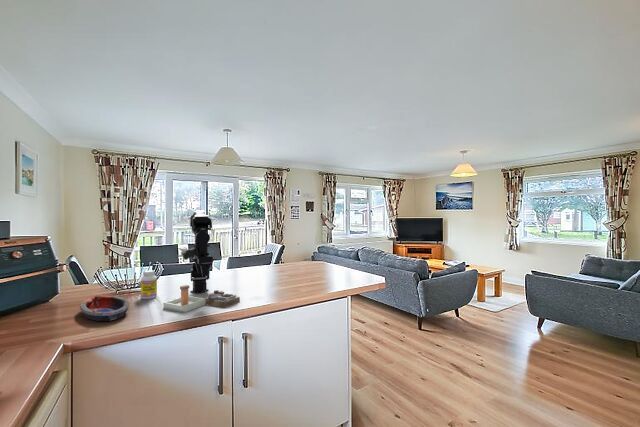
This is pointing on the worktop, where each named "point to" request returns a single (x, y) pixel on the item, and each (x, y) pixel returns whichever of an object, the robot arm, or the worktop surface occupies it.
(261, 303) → the worktop surface
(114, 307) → the dish
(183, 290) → the pin
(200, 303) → the tray
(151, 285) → the supplement bottle
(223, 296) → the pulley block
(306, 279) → the worktop surface
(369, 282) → the worktop surface
